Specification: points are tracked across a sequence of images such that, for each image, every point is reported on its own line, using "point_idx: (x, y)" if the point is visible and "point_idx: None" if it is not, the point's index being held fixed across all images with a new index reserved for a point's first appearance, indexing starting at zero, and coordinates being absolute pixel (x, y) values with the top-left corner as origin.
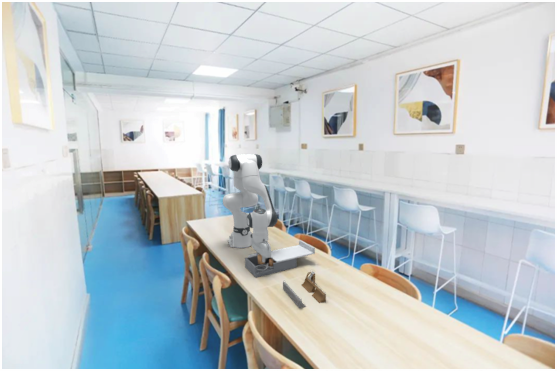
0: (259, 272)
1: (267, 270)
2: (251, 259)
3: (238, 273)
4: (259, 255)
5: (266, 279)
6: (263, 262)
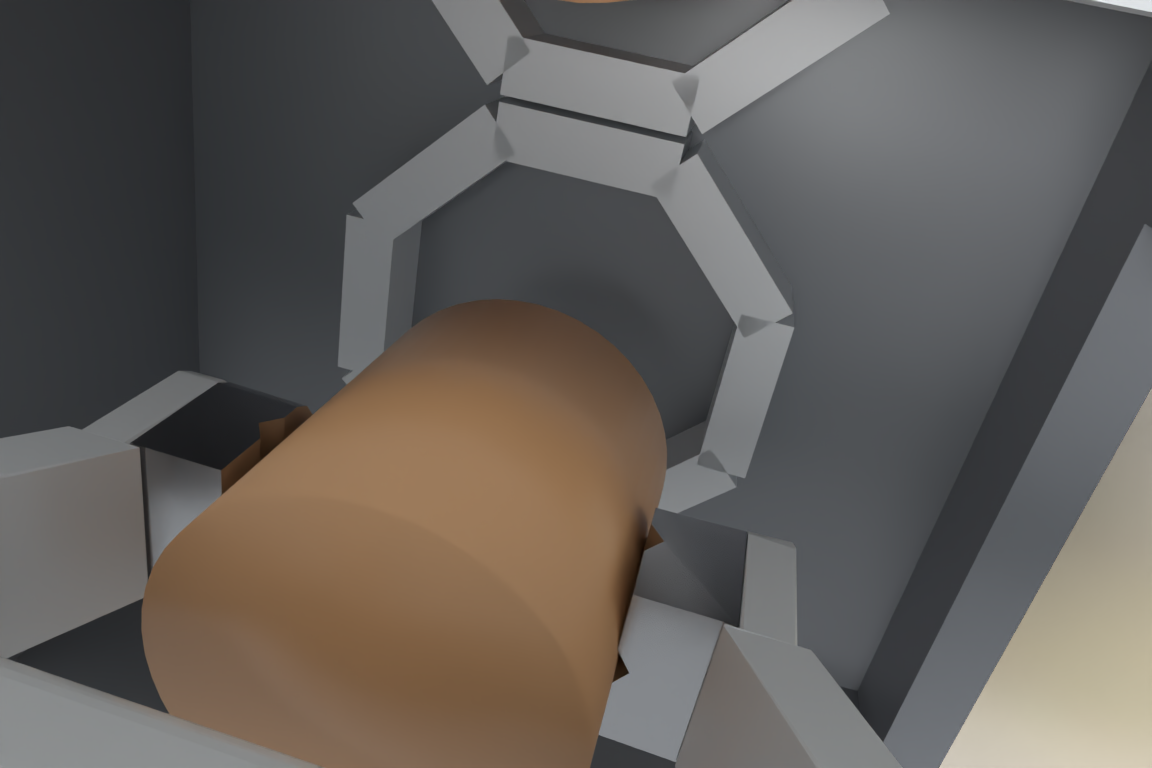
0: (903, 713)
1: (1027, 465)
2: None
3: None
4: (297, 749)
5: (1143, 555)
6: (654, 486)
